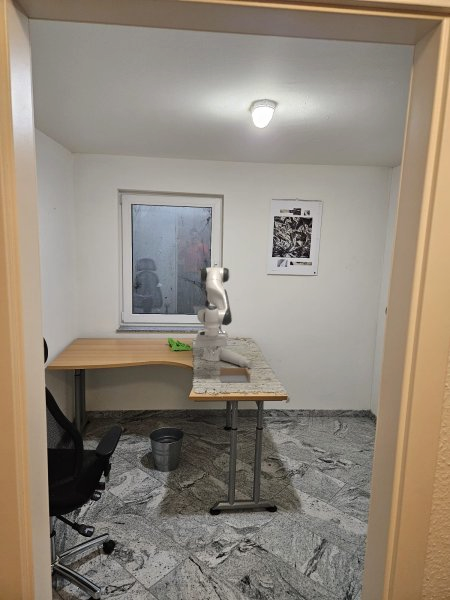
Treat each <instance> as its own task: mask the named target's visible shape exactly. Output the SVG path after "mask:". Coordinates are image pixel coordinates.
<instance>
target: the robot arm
mask: <svg viewBox="0 0 450 600" xmlns="http://www.w3.org/2000/svg"><path fill="white" fill-rule="evenodd" d="M230 276H231V273H230V269H229V268H227V267H220V266H213V267H211V266H210V267H202V268H201V269H200V271H199V279H200V281H201V282H204V283H205V290H206V292H207V295H206V296H207V299H206V300H207V301H208V303H209V304H211V305H209V306H206V307H205V308H202V309H200V310H198V312H197V321H199V323H201V325H203V326H204V328H201V329H198V331H197V335H196V337H195V346H196V347H204V348H203V354H202V356H201V358H200V359H201V360H204V361H205V360H206V361H209V362H219V361H223V360H222V359H221V358H220V353H221V352H222V350H223V349H224V348H223V347H227V346H228V338H229V337H228V336H229V335H228V332H226V331H221V329H220V328H219V325H222V326H228V325H230V324H231V323H232V321H233V314H232V311H231V308H230V301H229V297H228V292H227V290H226V289H225V288H224V287H223V284H225V283H227V282H228V281H229V280H230V278H231V277H230ZM210 346H212V347H213V353H216V356H217V359H210Z"/></svg>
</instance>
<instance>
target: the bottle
mask: <svg viewBox="0 0 450 600" xmlns="http://www.w3.org/2000/svg"><path fill="white" fill-rule="evenodd" d="M220 358H221V359H222V360H221V361H224V362H226V363H231V364H234V365H237V366H240V368H248V369H249V368H252V367H253V361H251V360H249V359H248V357H247V356H244V355H241V354H239V353H236V352H235V351H233V350H231V349H228V348H223V350H222V352H221V353H220Z"/></svg>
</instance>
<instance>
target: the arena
mask: <svg viewBox="0 0 450 600" xmlns="http://www.w3.org/2000/svg"><path fill="white" fill-rule="evenodd" d="M219 377H220V378H219V379H220V382H221V383H222V384H223V383H229V384H230V383H232V384H233V383H237V382H238V383H239V384H240V383H251V372H250V370H249V367H220V368H219Z"/></svg>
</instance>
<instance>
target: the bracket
mask: <svg viewBox="0 0 450 600" xmlns="http://www.w3.org/2000/svg"><path fill="white" fill-rule="evenodd" d="M210 359H217V356H216V353H213V347H212V346H210Z"/></svg>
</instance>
